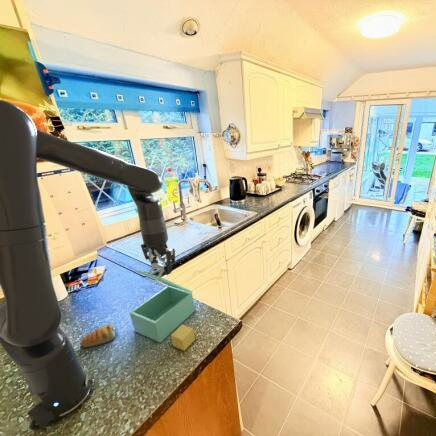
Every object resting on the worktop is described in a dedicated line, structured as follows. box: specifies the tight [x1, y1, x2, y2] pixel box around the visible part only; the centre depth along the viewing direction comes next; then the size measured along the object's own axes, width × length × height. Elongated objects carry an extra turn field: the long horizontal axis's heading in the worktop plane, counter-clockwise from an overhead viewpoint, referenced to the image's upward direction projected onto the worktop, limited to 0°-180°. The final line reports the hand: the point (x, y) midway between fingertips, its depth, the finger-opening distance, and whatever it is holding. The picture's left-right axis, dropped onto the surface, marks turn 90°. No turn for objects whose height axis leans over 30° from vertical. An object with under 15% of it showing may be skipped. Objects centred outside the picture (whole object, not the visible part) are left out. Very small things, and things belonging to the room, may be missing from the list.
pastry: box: [80, 323, 116, 348], centre depth 82 cm, size 9×7×4 cm
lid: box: [134, 263, 193, 294], centre depth 88 cm, size 17×13×5 cm
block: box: [170, 324, 196, 352], centre depth 81 cm, size 5×5×5 cm
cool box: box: [129, 285, 196, 343], centre depth 89 cm, size 17×13×9 cm
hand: (162, 271), depth 85 cm, fingers closed on lid, 5 cm apart
